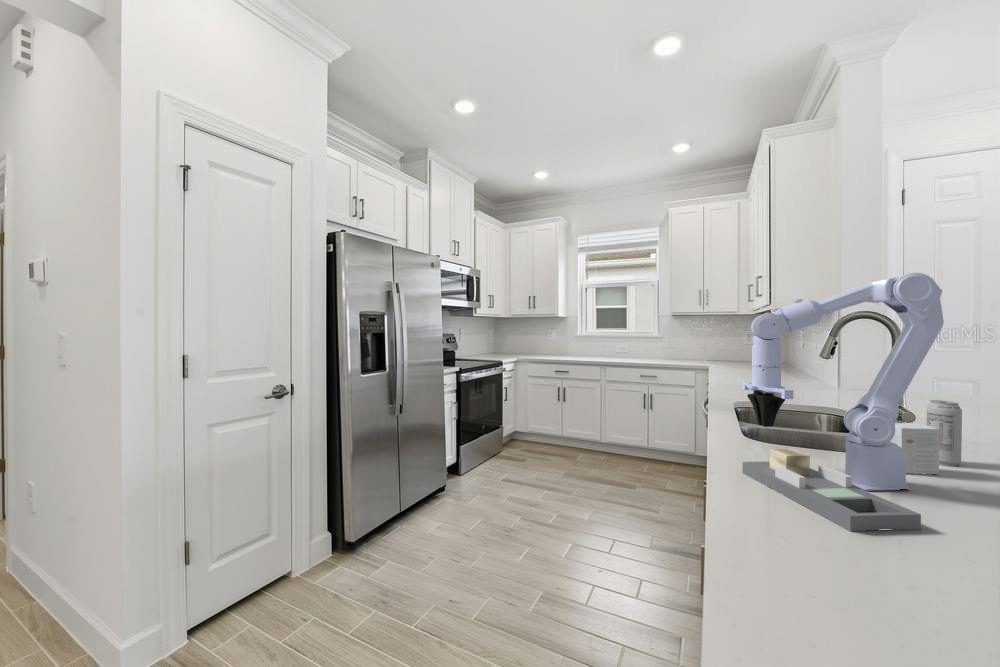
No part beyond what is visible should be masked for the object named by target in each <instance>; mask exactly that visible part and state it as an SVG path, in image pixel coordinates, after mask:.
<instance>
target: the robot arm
mask: <svg viewBox="0 0 1000 667" xmlns="http://www.w3.org/2000/svg"><path fill="white" fill-rule="evenodd" d="M942 294H943V290H942V289H941V287H940V286H939V284H938V283H936V281H935V279H933V278H932V277H931V276H929V275H928V274H926V273H923V272H922V273H921V272H911V273H907V274H903V275H902V276H898V277H897V276H896V277H890V278H886V279H882V280H876V281H873V282H872V281H871V282H869V283H865V284H862V285H859V286H857V287H854V288H851V289H848V290H846V291H843V292H840V293H837V294H835V295H833V296H829V297H826V298H825V299H821V300H819V301H815V300H812V299H809V298H806V299H802V298H798V299H795V300H794V301H793V303H792V304H789V305H786V306H784V307H781V308H778V309H777V308H776V307H773V308H772V309H770V312H764V314H761V315H758V316H756V317H755V318H754V319H753V320H752V321H751V325H750V331H751V333H752V335H753V336H752V344H753V345H752V346H751V381H742V382H741V383H742V387H741V389H742V390H743V391H750V392H752V393H747V398H748V399H749V401H750V403H751V405H752V408H753V410H754V413H755V417H756V421H757V425H758V426H762V427H764V428H770V427H771V428H773V426H774V424H775V421H776V418H777V416H778V413H779V410H780V409H781V407H782V405H783V404H784V403H785V402H786V400H793V399H794V389H790V388H787V387H785V386H782V346H781V336H782V335H783V333H786V334H789V333H793V332H795V331H799V330H802V329H805V328H807V327H811V326H813V325H816V324H819V323H820V322H821V320H822V319H823V317H824V316H825V315H827V314H830V313H833V312H836V311H839V310H840V311H841V310H844V309H846V308H850V307H853V306H856V305H859V304H863V303H872V304H880V303H883V304H884V305H886V306H887V307H888V308H890V309H891V310H893V311H894V312H895V313H896V314H897V316H898V317H899V320H901V321H902V324H904V326H903V328H902V329H901V332H900V333H899V335H898V338H897V339H896V341H895V342H894V344H893V346H892V348H891V350H890V351H889V353H888V354H887V356H886V358H885V360H884V362H883V364H882V366H881V368H880V370H878V372H877V375H876V376H875V379H874V380H873V382H872V383H871V386H870V388H869V389H868V390H867V392H866V394H864V395H863V396H861V398H859V399H858V401H857V403H856V405H854V406H853V407H851V408H850V409H848V410H847V411H845V414H844V416H843V424H844V426H845V428H846V430H848V431H849V432H848V433H847V435H846V436H845V462H844V463H845V470H844V471H845V472H844V474H846V475H849V476H851V477H852V486H854V487H857V488H859V489H861V490H864V491H866V492H870V491H873V492H875V491H901V490H900V489H911V488H910V486H907V481H906V479H907V474H906V456H905V453H904V452H903V450H902V449H901V447H899V446H898V445H897V444H895V443H892V442H891V441H890V440H892V438H893V437H894V435H895V423H897V419H898V418H899V403H900V402H901V400H902V398H903V396H904V395H905V393H906V391H907V390H908V389H909V388H908V387H909V386H910V384H912V383H911V382H912V380H914V377H915V376H916V374H917V372H918V370H919V368H920V367H921V365H922V363H923V361H924V359H925V358H926V356H928V355H927V354H928V353H929V351H930V349H931V348H932V346H933V345H934V342H935V340H936V339H937V337H938V335H939V334H940V332H941V330H942V329H943V326H944V320H945V319H944V315H943V309H942V302H941V298H942V297H941V296H942Z"/></svg>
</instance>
